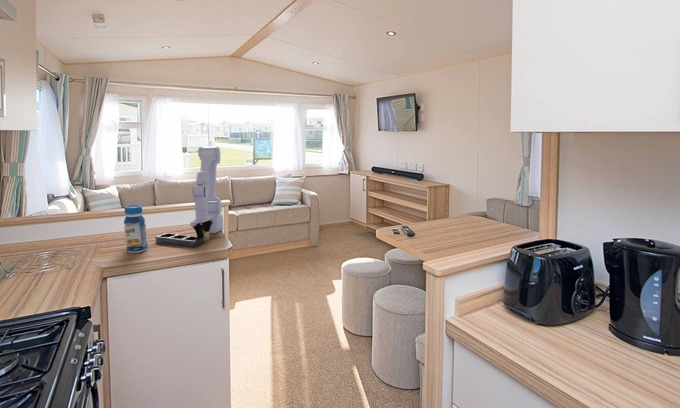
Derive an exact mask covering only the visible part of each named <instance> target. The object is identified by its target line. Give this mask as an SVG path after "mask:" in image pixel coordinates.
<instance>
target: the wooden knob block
mask: <svg viewBox="0 0 680 408" xmlns="http://www.w3.org/2000/svg"><path fill="white" fill-rule="evenodd" d="M196 236H197V235H196ZM197 237H198V236H197ZM203 237H204V243H206V242H207V241H209V240H210V239H211V238H210V233H209V231H203Z"/></svg>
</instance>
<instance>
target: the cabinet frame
mask: <svg viewBox="0 0 680 408" xmlns="http://www.w3.org/2000/svg"><path fill="white" fill-rule="evenodd" d="M155 243H156V244H161V245H172V246H177V247H178V246H179V247H185V248H186V247H187V248H193V249H195V248H197V247H200V246H202V245H204V244H205V242H204V237H197V235H186V234H179V233H171V232H165V233H162V234H159V235H157V236H156V235H155Z"/></svg>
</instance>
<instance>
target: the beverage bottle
mask: <svg viewBox="0 0 680 408" xmlns="http://www.w3.org/2000/svg"><path fill="white" fill-rule="evenodd" d="M123 211H124V214H125V218H124V220H123V223H124V228H123V230H124V234H125V245H126V251H127V252H128V253H131V254H137V253H142V252H145V251H147V250H148V244H147V240H148V237H147V238H146V230H147V224H146V225H145V224H144V222H146V220H145V217H144V216H143V215H142V214H143V206H142V205H140V204H131V205H126V206H125V207H124V210H123Z"/></svg>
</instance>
